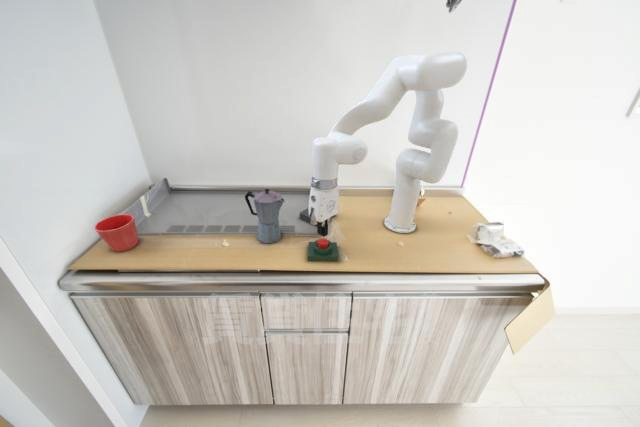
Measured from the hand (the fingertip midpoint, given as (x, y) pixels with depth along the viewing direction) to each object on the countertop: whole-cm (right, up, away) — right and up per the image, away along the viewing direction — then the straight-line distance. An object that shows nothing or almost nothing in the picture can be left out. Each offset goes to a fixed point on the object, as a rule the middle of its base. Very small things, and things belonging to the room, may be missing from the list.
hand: (322, 234), depth 79 cm
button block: (0, -7, +4) cm, 8 cm away
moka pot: (-21, -2, +13) cm, 24 cm away
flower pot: (-70, -5, +7) cm, 71 cm away
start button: (0, -4, +2) cm, 5 cm away
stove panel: (-2, +5, +26) cm, 27 cm away
